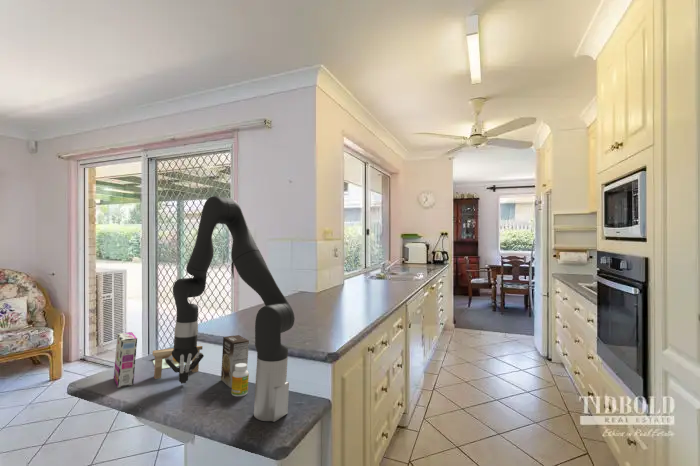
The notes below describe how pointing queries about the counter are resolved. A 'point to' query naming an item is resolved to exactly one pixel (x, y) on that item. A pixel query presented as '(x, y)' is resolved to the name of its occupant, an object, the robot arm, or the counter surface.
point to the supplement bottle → (240, 380)
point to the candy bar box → (125, 359)
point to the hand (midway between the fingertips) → (183, 382)
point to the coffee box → (233, 356)
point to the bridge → (158, 360)
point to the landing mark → (165, 365)
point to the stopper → (165, 356)
